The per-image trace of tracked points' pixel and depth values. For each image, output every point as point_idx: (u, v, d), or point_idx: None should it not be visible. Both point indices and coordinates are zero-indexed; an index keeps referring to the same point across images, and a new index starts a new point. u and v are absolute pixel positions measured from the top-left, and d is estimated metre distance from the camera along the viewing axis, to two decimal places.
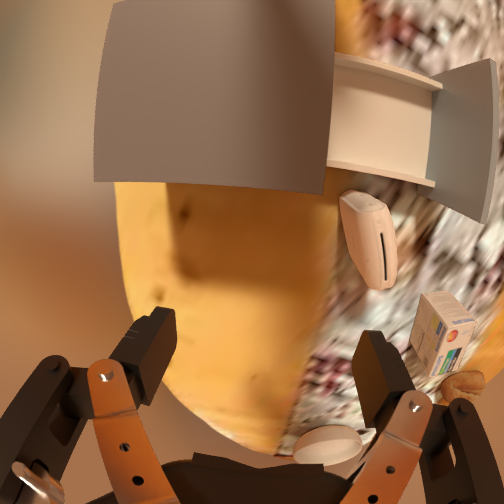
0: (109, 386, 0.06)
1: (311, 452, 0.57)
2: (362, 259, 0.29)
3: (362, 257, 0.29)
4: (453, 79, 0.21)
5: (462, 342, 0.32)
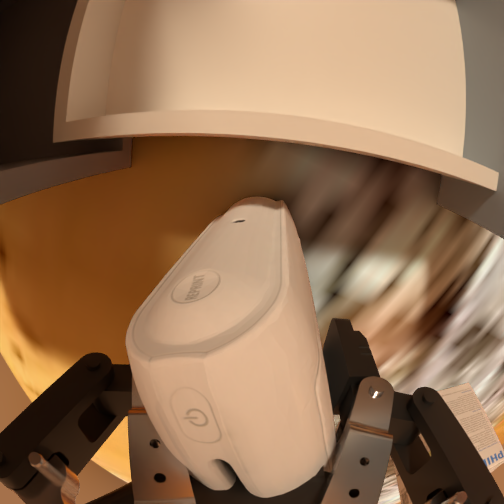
0: None
1: None
2: None
3: None
4: None
5: None
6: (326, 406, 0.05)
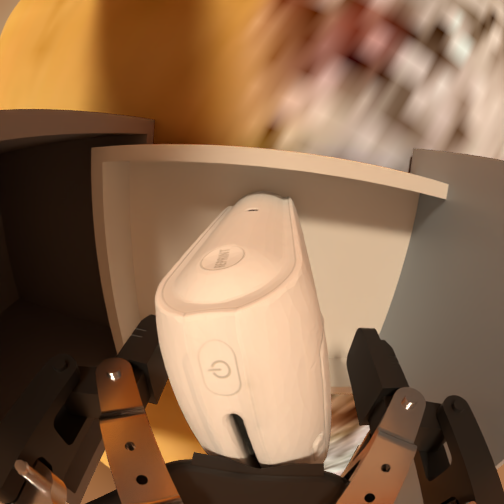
0: (117, 385, 0.06)
1: None
2: None
3: None
4: (482, 191, 0.08)
5: None
6: (327, 373, 0.06)
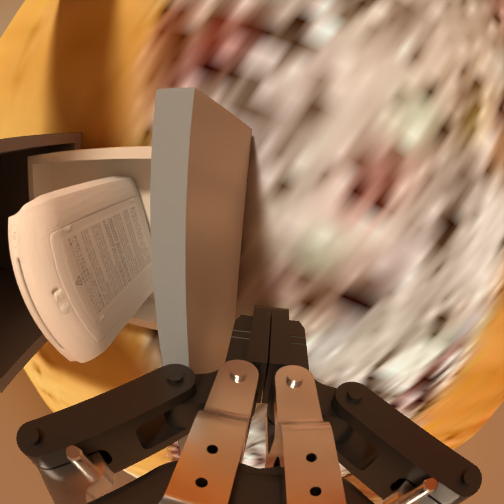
0: (235, 388, 0.07)
1: None
2: None
3: None
4: None
5: None
6: (58, 250, 0.11)
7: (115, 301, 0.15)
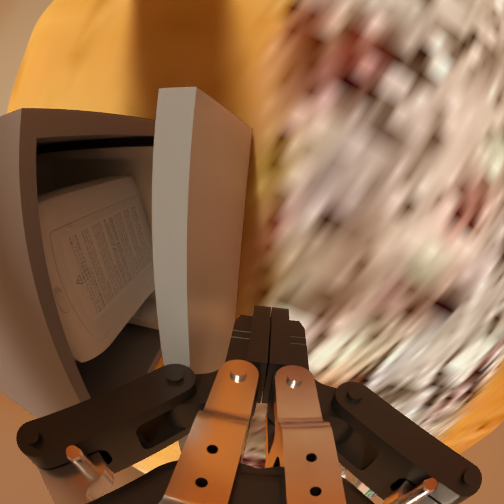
0: (234, 388, 0.07)
1: None
2: None
3: None
4: None
5: None
6: (58, 249, 0.11)
7: (115, 300, 0.16)
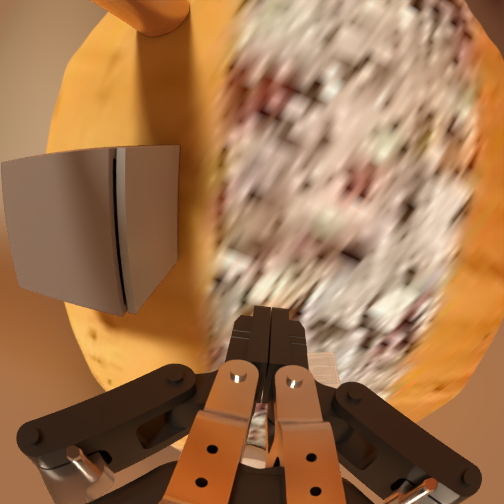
0: (234, 388, 0.07)
1: None
2: None
3: None
4: None
5: None
6: None
7: None
